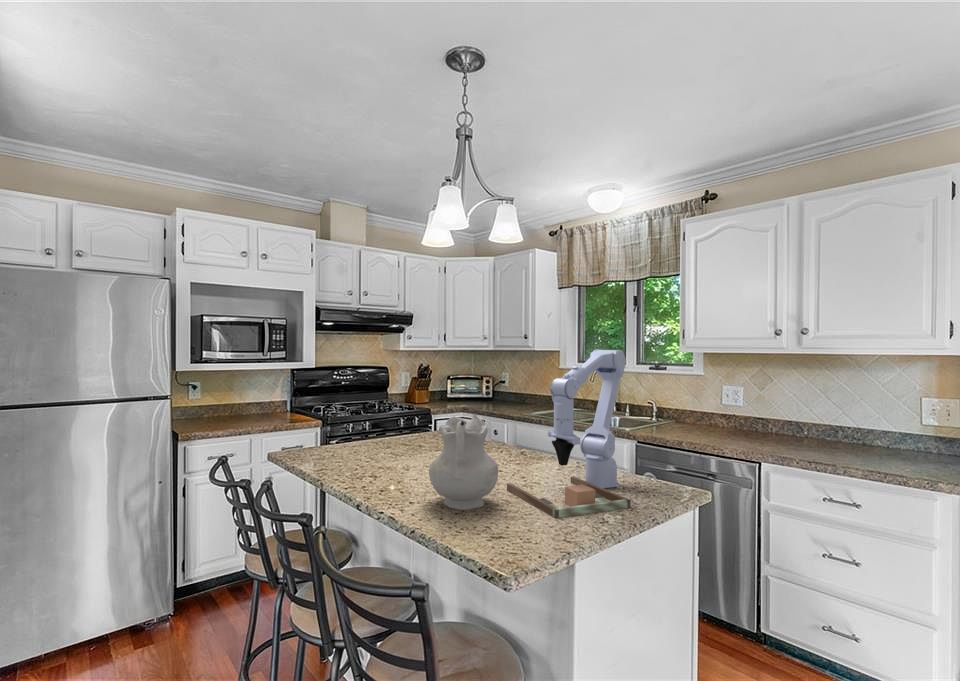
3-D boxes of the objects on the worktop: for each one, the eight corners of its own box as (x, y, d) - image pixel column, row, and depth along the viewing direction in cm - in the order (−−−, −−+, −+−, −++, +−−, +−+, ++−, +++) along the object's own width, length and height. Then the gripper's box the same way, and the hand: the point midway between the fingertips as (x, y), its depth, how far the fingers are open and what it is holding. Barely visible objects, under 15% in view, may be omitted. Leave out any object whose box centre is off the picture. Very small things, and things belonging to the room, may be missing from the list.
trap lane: (573, 482, 170) (573, 476, 170) (630, 507, 145) (630, 500, 145) (506, 489, 161) (506, 483, 161) (554, 518, 135) (554, 510, 135)
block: (582, 501, 150) (582, 484, 150) (595, 508, 144) (595, 489, 144) (564, 504, 147) (565, 486, 147) (576, 510, 142) (577, 492, 142)
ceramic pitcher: (503, 520, 136) (511, 424, 137) (428, 517, 133) (437, 419, 133) (488, 496, 157) (495, 414, 158) (424, 493, 154) (431, 409, 155)
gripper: (539, 416, 159) (539, 460, 159) (565, 423, 146) (565, 471, 146) (559, 415, 162) (558, 459, 162) (586, 421, 149) (586, 469, 149)
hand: (563, 464), depth 154 cm, fingers closed
